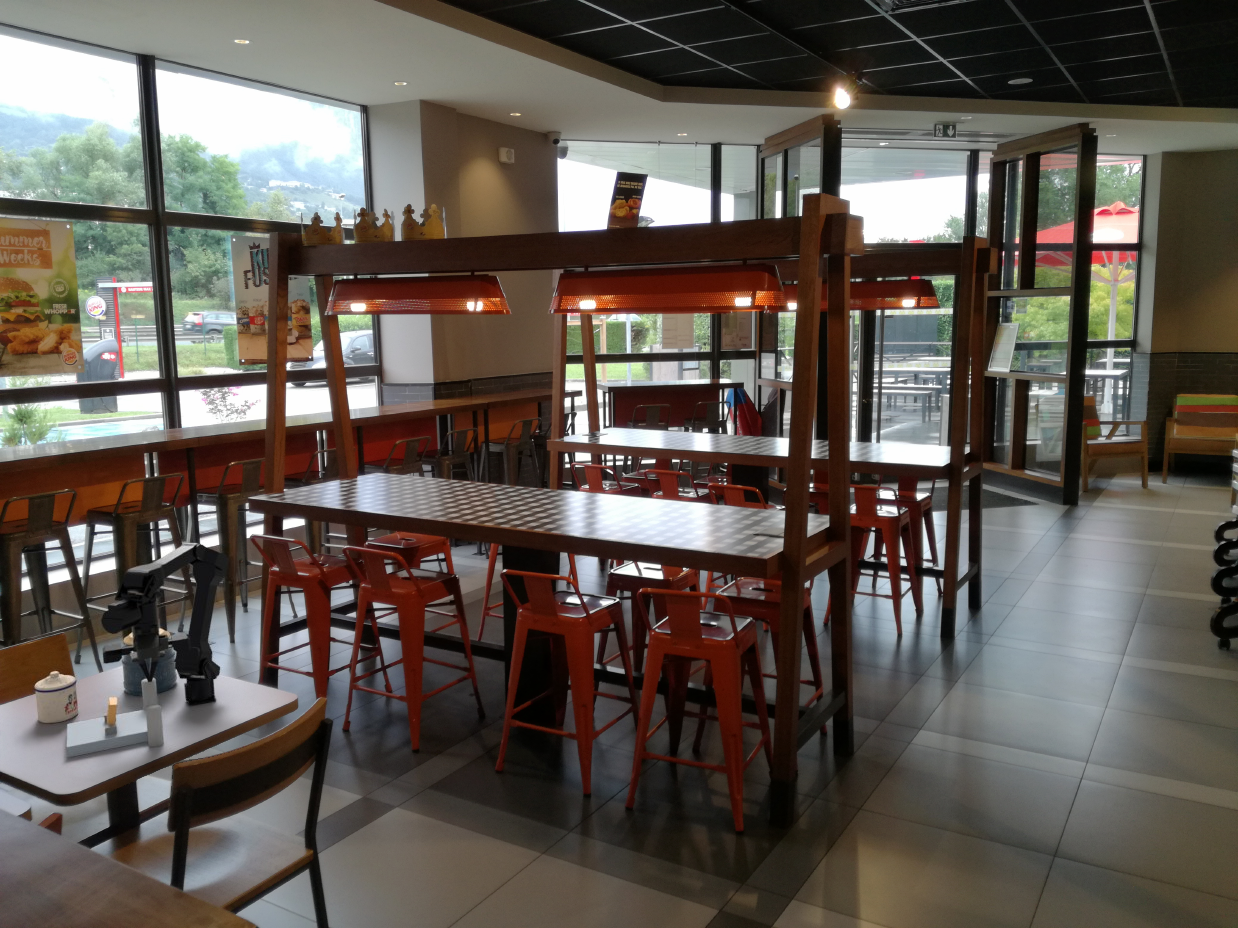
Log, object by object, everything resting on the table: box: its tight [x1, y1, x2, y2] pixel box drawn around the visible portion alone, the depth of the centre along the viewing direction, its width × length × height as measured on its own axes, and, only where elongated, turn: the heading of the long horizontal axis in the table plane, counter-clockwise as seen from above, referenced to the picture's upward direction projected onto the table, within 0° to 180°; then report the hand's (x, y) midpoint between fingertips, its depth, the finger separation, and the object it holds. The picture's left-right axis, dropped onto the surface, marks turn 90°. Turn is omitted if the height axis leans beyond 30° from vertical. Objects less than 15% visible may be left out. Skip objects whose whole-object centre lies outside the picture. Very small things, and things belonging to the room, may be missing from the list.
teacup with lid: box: [33, 670, 79, 724], centre depth 230 cm, size 12×9×12 cm
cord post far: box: [141, 678, 159, 710], centre depth 230 cm, size 3×3×9 cm
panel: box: [66, 709, 148, 758], centre depth 218 cm, size 18×14×4 cm
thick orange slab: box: [106, 697, 118, 724], centre depth 217 cm, size 2×5×5 cm, turn 30°
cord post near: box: [146, 704, 165, 748], centre depth 214 cm, size 3×3×9 cm
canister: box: [121, 627, 178, 696], centre depth 246 cm, size 13×13×18 cm
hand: (150, 681), depth 221 cm, fingers closed
